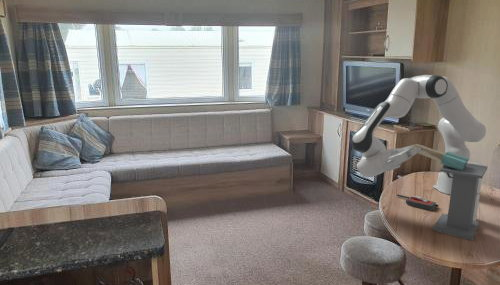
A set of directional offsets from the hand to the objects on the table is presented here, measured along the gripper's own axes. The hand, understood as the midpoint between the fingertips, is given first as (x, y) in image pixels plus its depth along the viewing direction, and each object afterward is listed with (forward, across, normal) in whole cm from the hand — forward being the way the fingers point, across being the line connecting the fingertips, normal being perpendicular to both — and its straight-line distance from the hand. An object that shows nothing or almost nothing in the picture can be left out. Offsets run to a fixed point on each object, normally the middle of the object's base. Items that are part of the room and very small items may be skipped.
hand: (422, 148), depth 156 cm
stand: (-2, +2, +36) cm, 36 cm away
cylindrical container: (-1, +15, +37) cm, 40 cm away
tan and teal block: (+3, 0, +6) cm, 7 cm away
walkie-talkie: (-21, +19, +26) cm, 38 cm away
